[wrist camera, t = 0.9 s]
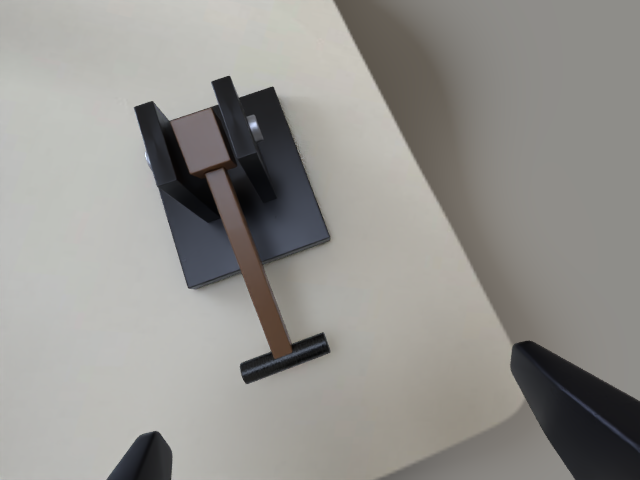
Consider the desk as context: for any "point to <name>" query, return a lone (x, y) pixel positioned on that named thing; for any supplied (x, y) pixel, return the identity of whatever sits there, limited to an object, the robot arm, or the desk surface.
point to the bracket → (235, 186)
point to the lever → (241, 243)
